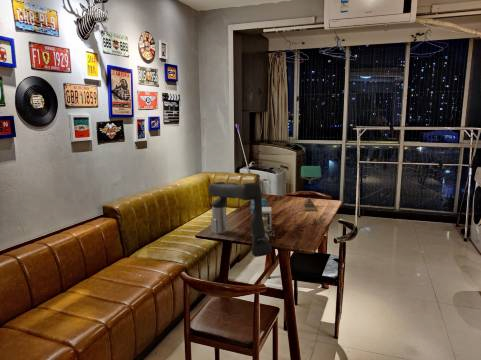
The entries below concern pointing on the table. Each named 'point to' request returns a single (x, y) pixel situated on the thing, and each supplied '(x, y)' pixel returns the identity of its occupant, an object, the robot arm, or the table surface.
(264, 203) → the data package
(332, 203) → the table surface
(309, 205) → the banker's lamp
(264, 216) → the maple block
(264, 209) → the tunnel
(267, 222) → the grey open box
